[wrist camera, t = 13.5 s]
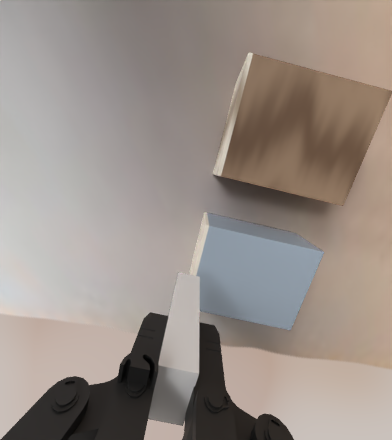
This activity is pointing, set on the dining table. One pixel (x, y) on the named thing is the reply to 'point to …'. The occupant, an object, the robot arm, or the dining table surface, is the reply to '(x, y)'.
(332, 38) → the dining table surface
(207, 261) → the slate block
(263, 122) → the walnut block
